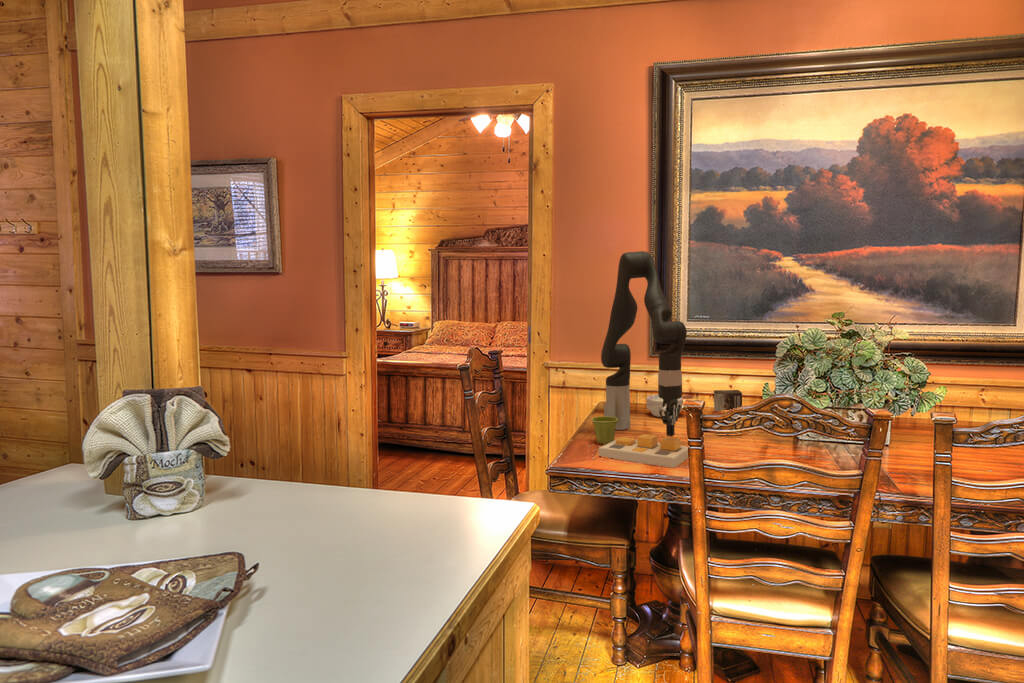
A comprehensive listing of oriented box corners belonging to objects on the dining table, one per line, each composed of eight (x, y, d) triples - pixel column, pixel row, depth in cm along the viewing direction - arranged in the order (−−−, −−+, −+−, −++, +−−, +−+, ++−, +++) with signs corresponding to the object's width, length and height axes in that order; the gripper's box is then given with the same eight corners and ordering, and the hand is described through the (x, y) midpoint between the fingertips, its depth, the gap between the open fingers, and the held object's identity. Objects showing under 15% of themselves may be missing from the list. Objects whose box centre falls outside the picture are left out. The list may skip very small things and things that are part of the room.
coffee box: (738, 431, 246) (738, 389, 245) (742, 436, 240) (743, 392, 238) (713, 432, 247) (713, 389, 246) (717, 436, 241) (717, 392, 239)
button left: (615, 448, 222) (615, 440, 222) (622, 445, 226) (622, 437, 226) (629, 450, 219) (629, 441, 219) (635, 447, 223) (635, 438, 223)
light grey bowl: (686, 419, 271) (686, 400, 270) (649, 419, 272) (648, 400, 271) (679, 411, 286) (679, 393, 285) (644, 412, 287) (644, 394, 286)
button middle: (637, 445, 217) (637, 437, 217) (643, 442, 222) (643, 433, 221) (651, 447, 215) (651, 438, 214) (657, 444, 219) (657, 435, 218)
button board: (598, 456, 218) (598, 446, 217) (620, 446, 231) (620, 436, 230) (673, 467, 203) (673, 457, 202) (692, 455, 216) (692, 445, 215)
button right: (660, 448, 213) (660, 439, 213) (666, 445, 217) (666, 436, 217) (675, 450, 210) (675, 441, 210) (680, 447, 214) (680, 438, 214)
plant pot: (593, 446, 232) (593, 422, 231) (590, 439, 241) (590, 416, 240) (620, 445, 232) (619, 421, 231) (616, 439, 241) (615, 415, 240)
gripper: (666, 379, 219) (667, 430, 221) (650, 385, 208) (651, 438, 210) (688, 381, 215) (689, 432, 216) (673, 387, 204) (673, 441, 205)
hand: (670, 435), depth 213 cm, fingers closed
